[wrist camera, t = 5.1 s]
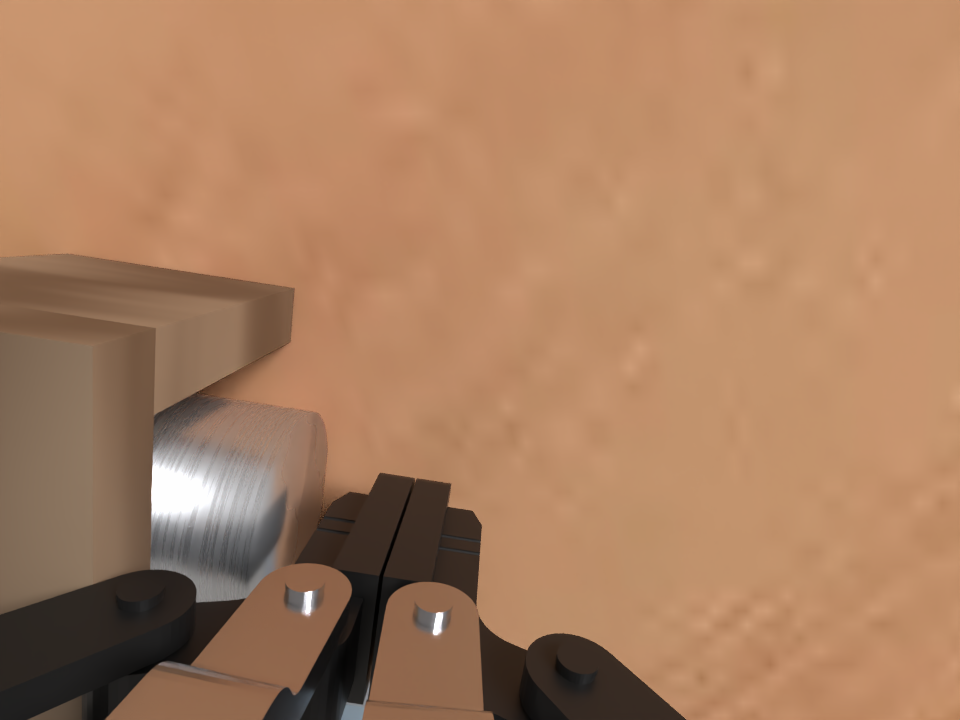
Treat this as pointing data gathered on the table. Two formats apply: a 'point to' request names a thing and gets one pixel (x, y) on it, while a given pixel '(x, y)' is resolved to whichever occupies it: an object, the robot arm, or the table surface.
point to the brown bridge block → (103, 406)
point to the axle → (234, 491)
